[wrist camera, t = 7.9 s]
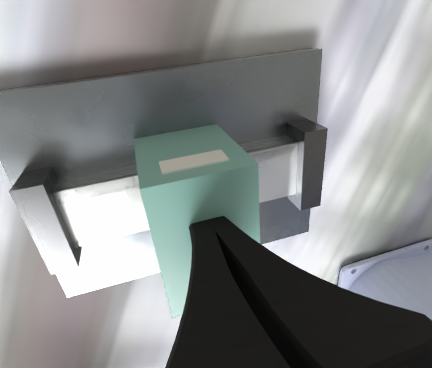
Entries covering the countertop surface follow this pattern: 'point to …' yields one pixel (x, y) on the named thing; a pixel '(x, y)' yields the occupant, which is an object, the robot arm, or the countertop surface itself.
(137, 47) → the countertop surface
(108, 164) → the rail plate
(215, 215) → the block
